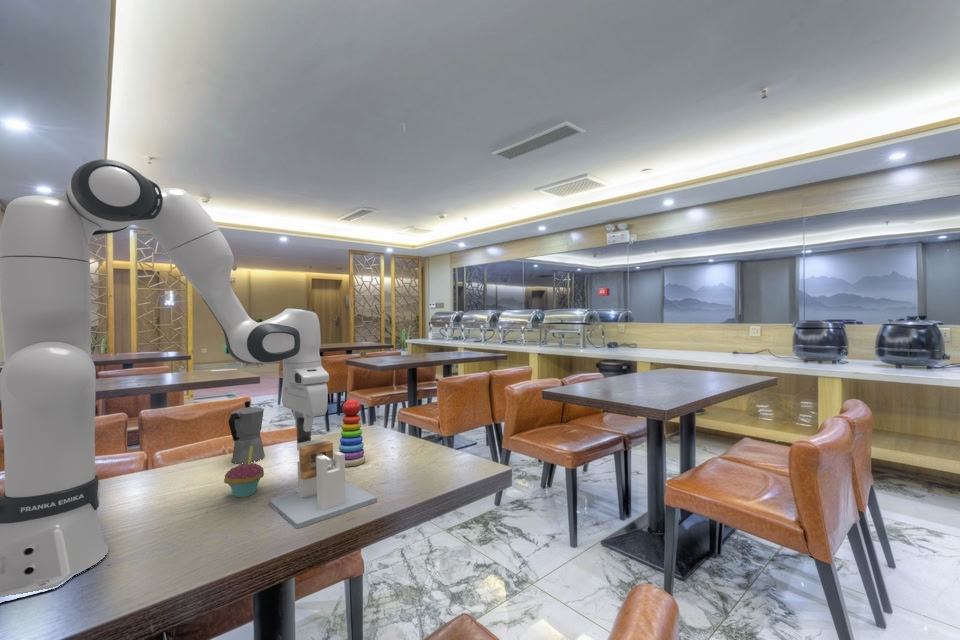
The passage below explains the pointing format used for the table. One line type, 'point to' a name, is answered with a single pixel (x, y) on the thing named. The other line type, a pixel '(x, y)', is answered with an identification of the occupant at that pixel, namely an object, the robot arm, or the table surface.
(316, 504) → the stand
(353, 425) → the stacking toy
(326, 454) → the collar
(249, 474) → the cupcake
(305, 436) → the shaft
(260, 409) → the coffeepot
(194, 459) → the table surface
